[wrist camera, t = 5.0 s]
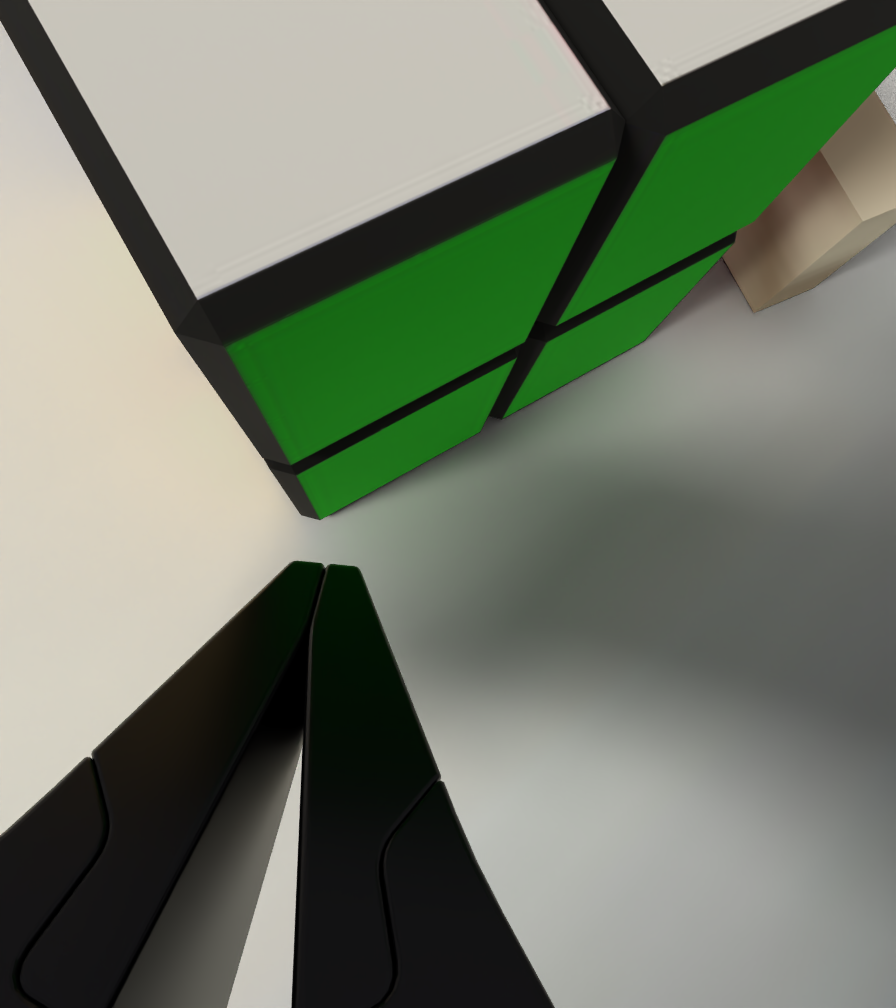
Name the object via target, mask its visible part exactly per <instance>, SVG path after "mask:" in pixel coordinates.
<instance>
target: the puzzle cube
mask: <svg viewBox="0 0 896 1008" xmlns="http://www.w3.org/2000/svg"><path fill="white" fill-rule="evenodd" d="M0 21H1V23H2V24H3V26H4V28H5V30H6V32H7V33H8V35H9V37H10V39H11V40H12V42H13V44H14V46H15V48H16V49H17V51H18V53H19V55H20V57H21V58H22V60H23V62H24V64H25V66H26V67H27V69H28V71H29V73H30V75H31V76H32V78H33V80H34V82H35V83H36V85H37V87H38V89H39V91H40V92H41V94H42V96H43V98H44V100H45V101H46V103H47V105H48V107H49V109H50V110H51V112H52V114H53V116H54V118H55V119H56V121H57V123H58V125H59V127H60V128H61V130H62V132H63V134H64V135H65V137H66V139H67V141H68V143H69V144H70V146H71V148H72V150H73V152H74V153H75V155H76V157H77V159H78V161H79V162H80V164H81V166H82V168H83V170H84V171H85V173H86V175H87V177H88V178H89V180H90V182H91V184H92V186H93V187H94V189H95V191H96V193H97V195H98V196H99V198H100V200H101V202H102V204H103V205H104V207H105V209H106V211H107V213H108V214H109V216H110V218H111V220H112V221H113V223H114V225H115V227H116V229H117V230H118V232H119V234H120V236H121V238H122V239H123V241H124V243H125V245H126V247H127V248H128V250H129V252H130V254H131V256H132V257H133V259H134V261H135V263H136V265H137V266H138V268H139V270H140V272H141V273H142V275H143V277H144V279H145V281H146V282H147V284H148V286H149V288H150V290H151V291H152V293H153V295H154V297H155V299H156V300H157V302H158V304H159V306H160V308H161V309H162V311H163V313H164V315H165V316H166V318H167V320H168V322H169V324H170V325H171V327H172V329H173V331H174V333H175V334H176V335H177V337H178V338H179V340H180V341H181V343H182V344H183V345H184V347H185V348H186V350H187V351H188V353H189V354H190V355H191V357H192V358H193V360H194V361H195V363H196V364H197V365H198V367H199V368H200V370H201V371H202V372H203V374H204V375H205V377H206V378H207V380H208V381H209V382H210V384H211V385H212V387H213V388H214V390H215V391H216V392H217V394H218V395H219V397H220V398H221V400H222V401H223V402H224V404H225V405H226V407H227V408H228V409H229V411H230V412H231V414H232V415H233V417H234V418H235V419H236V421H237V422H238V424H239V425H240V427H241V428H242V429H243V431H244V432H245V434H246V435H247V436H248V438H249V439H250V441H251V442H252V444H253V445H254V446H255V448H256V449H257V451H258V452H259V454H260V455H261V456H262V458H264V460H265V462H266V463H267V465H268V467H269V469H270V470H271V472H272V473H273V474H274V476H275V477H276V479H277V480H278V482H279V483H280V485H281V486H282V488H283V489H284V491H285V492H286V494H287V495H288V497H289V498H290V500H291V501H292V502H293V504H294V505H295V507H296V508H297V510H298V511H299V513H300V514H301V515H303V516H306V517H310V518H314V519H318V520H321V519H323V518H325V517H327V516H328V515H330V514H332V513H334V512H336V511H338V510H339V509H341V508H343V507H345V506H347V505H348V504H350V503H352V502H354V501H356V500H358V499H359V498H361V497H363V496H365V495H367V494H368V493H370V492H372V491H374V490H376V489H378V488H379V487H381V486H383V485H385V484H387V483H388V482H390V481H392V480H394V479H396V478H398V477H399V476H401V475H403V474H405V473H407V472H408V471H410V470H412V469H414V468H416V467H418V466H419V465H421V464H423V463H425V462H427V461H428V460H430V459H432V458H434V457H436V456H437V455H439V454H441V453H443V452H445V451H447V450H448V449H450V448H452V447H454V446H456V445H457V444H459V443H461V442H463V441H465V440H467V439H468V438H470V437H472V436H474V435H476V434H477V433H479V432H480V431H481V429H482V427H483V425H484V423H485V421H486V419H487V417H488V416H491V417H495V418H499V419H503V418H505V417H507V416H509V415H511V414H512V413H514V412H516V411H518V410H520V409H522V408H523V407H525V406H527V405H529V404H531V403H532V402H534V401H536V400H538V399H540V398H542V397H543V396H545V395H547V394H549V393H551V392H552V391H554V390H556V389H558V388H560V387H562V386H563V385H565V384H567V383H569V382H571V381H572V380H574V379H576V378H578V377H580V376H582V375H583V374H585V373H587V372H589V371H591V370H592V369H594V368H596V367H598V366H600V365H602V364H603V363H605V362H607V361H609V360H611V359H612V358H614V357H616V356H618V355H620V354H622V353H623V352H625V351H627V350H629V349H631V348H632V347H634V346H636V345H638V344H640V343H642V342H643V341H645V340H646V338H647V337H648V336H649V335H650V334H651V333H652V332H653V331H654V330H655V329H656V328H657V327H658V325H659V324H660V323H661V322H662V321H663V320H664V319H665V318H666V317H667V316H668V315H669V313H670V312H671V311H672V310H673V309H674V308H675V307H676V306H677V305H678V304H679V303H680V302H681V300H682V299H683V298H684V297H685V296H686V295H687V294H688V293H689V292H690V291H691V290H692V289H693V287H694V286H695V285H696V284H697V283H698V282H699V281H700V280H701V279H702V278H703V277H704V275H705V274H706V273H707V272H708V271H709V270H710V269H711V268H712V267H713V266H714V265H715V264H716V262H717V261H718V260H719V259H720V258H721V257H722V256H723V255H724V254H725V253H726V252H727V250H728V249H729V248H730V247H731V246H732V245H733V244H734V243H735V240H736V234H737V230H739V229H741V228H743V227H745V226H747V225H749V224H751V223H752V222H754V221H755V220H756V219H757V218H758V217H759V216H760V215H761V213H762V212H763V211H764V210H765V209H766V208H767V207H768V206H769V205H770V204H771V203H772V201H773V200H774V199H775V198H776V197H777V196H778V195H779V194H780V193H781V192H782V191H783V189H784V188H785V187H786V186H787V185H788V184H789V183H790V182H791V181H792V180H793V179H794V177H795V176H796V175H797V174H798V173H799V172H800V171H801V170H802V169H803V168H804V167H805V165H806V164H807V163H808V162H809V161H810V160H811V159H812V158H813V157H814V156H815V155H816V153H817V152H818V151H819V150H820V149H821V148H822V147H823V146H824V145H825V144H826V143H827V141H828V140H829V139H830V138H831V137H832V136H833V135H834V134H835V133H836V132H837V131H838V129H839V128H840V127H841V126H842V125H843V124H844V123H845V122H846V121H847V120H848V119H849V117H850V116H851V115H852V114H853V113H854V112H855V111H856V110H857V109H858V108H859V107H860V105H861V104H862V103H863V102H864V101H865V100H866V99H867V98H868V97H869V96H870V95H871V93H872V92H873V91H874V90H875V89H876V88H877V87H878V86H879V85H880V84H881V83H882V81H883V80H884V79H885V78H886V77H887V76H888V75H889V74H890V73H891V72H892V71H893V69H894V68H895V67H896V0H0Z"/></svg>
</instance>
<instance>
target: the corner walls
mask: <svg viewBox="0 0 896 1008" xmlns="http://www.w3.org/2000/svg"><path fill="white" fill-rule="evenodd" d="M894 224H896V124H895V123H894V121H893V120H892V118H891V116H890V115H889V113H888V112H887V110H886V108H885V107H884V105H883V103H882V102H881V100H880V99H879V97H878V95H877V94H876V92H875V91H873V92H872V93H871V95H870V96H869V97H868V98H867V99H866V100H865V101H864V102H863V103H862V104H861V105H860V107H859V108H858V109H857V110H856V111H855V112H854V113H853V114H852V115H851V116H850V117H849V119H848V120H847V121H846V122H845V123H844V124H843V125H842V126H841V127H840V128H839V129H838V131H837V132H836V133H835V134H834V135H833V136H832V137H831V138H830V139H829V140H828V141H827V143H826V144H825V145H824V146H823V147H822V148H821V149H820V150H819V151H818V152H817V153H816V155H815V156H814V157H813V158H812V159H811V160H810V161H809V162H808V163H807V164H806V165H805V167H804V168H803V169H802V170H801V171H800V172H799V173H798V174H797V175H796V176H795V177H794V179H793V180H792V181H791V182H790V183H789V184H788V185H787V186H786V187H785V188H784V189H783V191H782V192H781V193H780V194H779V195H778V196H777V197H776V198H775V199H774V200H773V201H772V203H771V204H770V205H769V206H768V207H767V208H766V209H765V210H764V211H763V212H762V213H761V215H760V216H759V217H758V218H757V219H756V220H755V221H754V222H752V223H751V224H749V225H747V226H745V227H743V228H741V229H739V230H737V234H736V240H735V243H734V244H733V245H732V246H731V247H730V248H729V249H728V250H727V252H726V253H725V254H724V255H723V256H722V257H723V259H724V261H725V262H726V264H727V266H728V268H729V269H730V271H731V273H732V275H733V277H734V278H735V280H736V282H737V284H738V286H739V287H740V289H741V291H742V293H743V294H744V296H745V298H746V300H747V302H748V303H749V305H750V307H751V309H752V311H753V312H754V313H755V312H758V311H760V310H763V309H765V308H767V307H770V306H772V305H774V304H777V303H779V302H781V301H784V300H786V299H789V298H791V297H793V296H796V295H798V294H800V293H803V292H805V291H807V290H810V289H812V288H814V287H816V286H817V285H818V284H819V283H821V282H822V281H823V280H824V279H826V278H827V277H828V276H830V275H831V274H832V273H833V272H835V271H836V270H837V269H838V268H840V267H841V266H842V265H844V264H845V263H846V262H847V261H849V260H850V259H851V258H852V257H854V256H855V255H856V254H858V253H859V252H860V251H861V250H863V249H864V248H865V247H866V246H868V245H869V244H870V243H872V242H873V241H874V240H875V239H877V238H878V237H879V236H880V235H882V234H883V233H884V232H886V231H887V230H888V229H889V228H891V227H892V226H893V225H894Z"/></svg>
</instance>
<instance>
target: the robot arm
mask: <svg viewBox="0 0 896 1008" xmlns="http://www.w3.org/2000/svg"><path fill="white" fill-rule="evenodd" d="M302 745H303V748H302ZM301 749H302V772H301V795H300V819H299V842H298V866H297V889H296V913H295V937H294V960H293V984H292V1007H291V1008H555V1007H554V1005H553V1003H552V1002H551V1000H550V998H549V996H548V994H547V992H546V991H545V989H544V987H543V985H542V983H541V981H540V980H539V978H538V976H537V974H536V972H535V970H534V969H533V967H532V965H531V963H530V961H529V959H528V958H527V956H526V954H525V952H524V950H523V948H522V947H521V945H520V943H519V941H518V939H517V937H516V936H515V934H514V932H513V930H512V928H511V926H510V925H509V923H508V921H507V919H506V917H505V915H504V914H503V912H502V910H501V908H500V906H499V904H498V902H497V900H496V898H495V896H494V894H493V892H492V890H491V888H490V886H489V884H488V882H487V880H486V878H485V876H484V874H483V872H482V870H481V868H480V866H479V864H478V862H477V860H476V858H475V856H474V853H473V851H472V849H471V846H470V844H469V842H468V839H467V837H466V835H465V833H464V830H463V828H462V826H461V823H460V821H459V819H458V816H457V814H456V812H455V809H454V806H453V804H452V801H451V799H450V796H449V794H448V791H447V789H446V786H445V784H444V782H442V781H440V780H441V774H440V772H439V769H438V767H437V764H436V762H435V759H434V757H433V754H432V751H431V749H430V746H429V744H428V741H427V739H426V736H425V734H424V731H423V729H422V726H421V723H420V721H419V718H418V716H417V713H416V711H415V708H414V706H413V703H412V700H411V698H410V695H409V693H408V690H407V688H406V685H405V683H404V680H403V678H402V675H401V672H400V670H399V667H398V665H397V662H396V660H395V657H394V655H393V652H392V649H391V647H390V644H389V642H388V639H387V637H386V634H385V632H384V629H383V627H382V624H381V621H380V619H379V616H378V614H377V611H376V609H375V606H374V604H373V601H372V599H371V596H370V593H369V591H368V588H367V586H366V583H365V581H364V578H363V576H362V573H361V571H360V569H359V568H357V567H355V566H347V565H336V564H330V565H328V566H327V567H326V568H325V567H324V565H323V564H322V563H315V562H305V561H293V562H291V563H289V564H288V565H287V566H286V567H285V568H284V569H283V570H282V571H281V572H280V573H279V574H278V575H277V576H276V577H275V578H274V579H272V580H271V581H270V582H269V583H268V584H267V585H266V586H265V587H264V588H263V589H262V590H261V591H260V592H259V593H258V594H257V595H256V596H255V597H254V598H253V599H251V600H250V601H249V602H248V603H247V604H246V605H245V606H244V607H243V608H242V609H241V610H240V611H239V612H238V613H237V614H236V615H235V616H234V617H233V618H232V619H230V620H229V621H228V622H227V623H226V624H225V625H224V626H223V627H222V628H221V629H220V630H219V631H218V632H217V633H216V634H215V635H214V636H213V637H212V638H211V639H209V640H208V641H207V642H206V643H205V644H204V645H203V646H202V647H201V648H200V649H199V650H198V651H197V652H196V653H195V654H194V655H193V656H192V657H191V658H190V659H188V660H187V661H186V662H185V663H184V664H183V665H182V666H181V667H180V668H179V669H178V670H177V671H176V672H175V673H174V674H173V675H172V676H171V677H170V678H169V679H167V680H166V681H165V682H164V683H163V684H162V685H161V686H160V687H159V688H158V689H157V690H156V691H155V692H154V693H153V694H152V695H151V696H150V697H149V698H148V699H146V700H145V701H144V702H143V703H142V704H141V705H140V706H139V707H138V708H137V709H136V710H135V711H134V712H133V713H132V714H131V715H130V716H129V717H128V718H127V719H125V720H124V721H123V722H122V723H121V724H120V725H119V726H118V727H117V728H116V729H115V730H114V731H113V732H112V733H111V734H110V735H109V736H108V737H107V738H106V739H104V740H103V741H102V742H101V743H100V744H99V745H98V746H97V747H96V748H95V749H94V750H93V751H92V754H91V755H92V758H90V757H86V758H84V759H83V760H82V761H81V762H80V763H79V764H78V765H77V766H76V767H75V768H74V769H73V770H71V771H70V772H69V773H68V774H67V775H66V776H65V777H64V778H63V779H62V780H61V781H60V782H59V783H58V784H57V785H56V786H55V787H54V788H52V789H51V790H50V791H49V792H48V793H47V794H46V795H45V796H44V797H43V798H41V799H40V800H39V801H38V802H37V803H36V804H35V805H34V806H33V807H32V808H30V809H29V810H28V811H27V812H26V813H25V814H24V815H23V816H22V817H21V818H19V819H18V820H17V821H16V822H15V823H14V824H13V825H12V826H11V827H9V828H8V829H7V830H6V831H5V832H4V833H3V834H1V835H0V1008H227V1004H228V1001H229V997H230V994H231V991H232V987H233V984H234V980H235V977H236V973H237V970H238V966H239V963H240V960H241V956H242V953H243V949H244V946H245V942H246V939H247V935H248V932H249V929H250V925H251V922H252V918H253V915H254V911H255V908H256V904H257V901H258V898H259V894H260V891H261V887H262V884H263V880H264V877H265V873H266V870H267V867H268V863H269V860H270V856H271V853H272V849H273V846H274V842H275V839H276V836H277V832H278V829H279V825H280V822H281V818H282V815H283V811H284V808H285V805H286V801H287V798H288V794H289V791H290V787H291V784H292V780H293V777H294V774H295V770H296V767H297V763H298V760H299V756H300V752H301ZM92 759H93V760H92Z"/></svg>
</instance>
